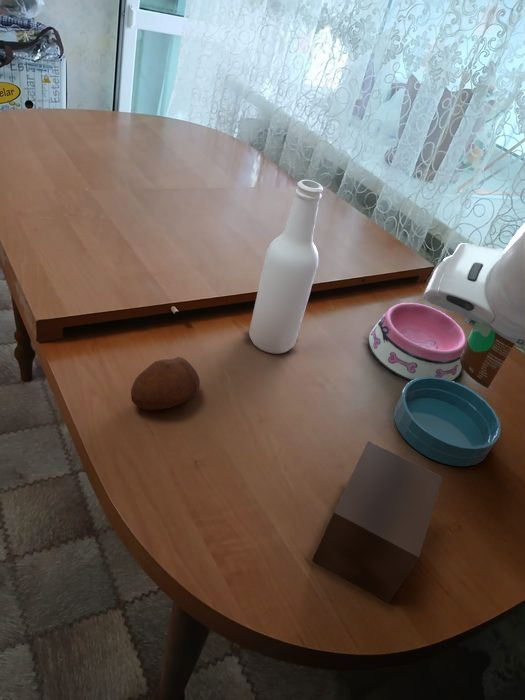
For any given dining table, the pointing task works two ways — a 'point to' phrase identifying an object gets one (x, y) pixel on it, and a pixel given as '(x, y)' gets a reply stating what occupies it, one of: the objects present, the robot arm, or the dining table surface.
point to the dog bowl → (418, 342)
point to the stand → (379, 522)
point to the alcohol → (287, 275)
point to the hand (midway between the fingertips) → (496, 328)
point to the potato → (165, 384)
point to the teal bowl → (446, 421)
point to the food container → (485, 353)
